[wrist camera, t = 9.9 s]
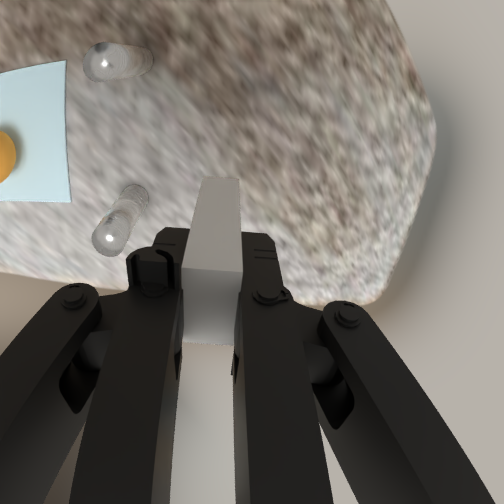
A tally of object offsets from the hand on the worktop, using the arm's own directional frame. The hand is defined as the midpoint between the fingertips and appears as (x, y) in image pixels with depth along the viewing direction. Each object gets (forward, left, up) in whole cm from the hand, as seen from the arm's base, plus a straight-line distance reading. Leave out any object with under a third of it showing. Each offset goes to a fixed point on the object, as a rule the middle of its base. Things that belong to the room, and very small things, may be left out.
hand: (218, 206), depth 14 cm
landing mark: (0, -22, -14) cm, 26 cm away
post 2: (+6, -8, -14) cm, 18 cm away
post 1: (-6, -8, -14) cm, 18 cm away
